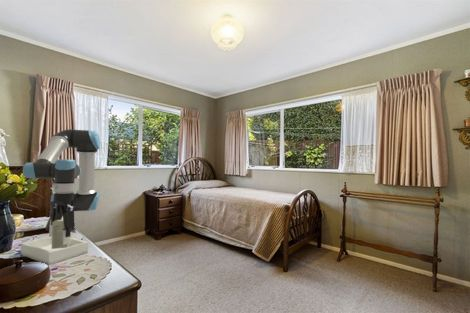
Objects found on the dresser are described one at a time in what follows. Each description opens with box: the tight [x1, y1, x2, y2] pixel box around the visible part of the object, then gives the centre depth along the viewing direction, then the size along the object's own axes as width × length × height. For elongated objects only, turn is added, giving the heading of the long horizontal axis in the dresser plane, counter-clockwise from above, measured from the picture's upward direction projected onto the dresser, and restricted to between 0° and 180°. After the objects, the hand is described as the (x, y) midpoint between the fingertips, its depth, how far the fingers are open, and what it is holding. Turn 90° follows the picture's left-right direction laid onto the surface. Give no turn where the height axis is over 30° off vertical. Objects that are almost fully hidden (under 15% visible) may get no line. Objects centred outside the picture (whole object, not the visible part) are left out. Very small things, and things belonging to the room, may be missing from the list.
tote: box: [19, 236, 89, 266], centre depth 109 cm, size 16×24×5 cm, turn 64°
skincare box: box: [52, 220, 72, 249], centre depth 107 cm, size 6×4×12 cm
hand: (61, 242), depth 107 cm, fingers closed on skincare box, 7 cm apart
